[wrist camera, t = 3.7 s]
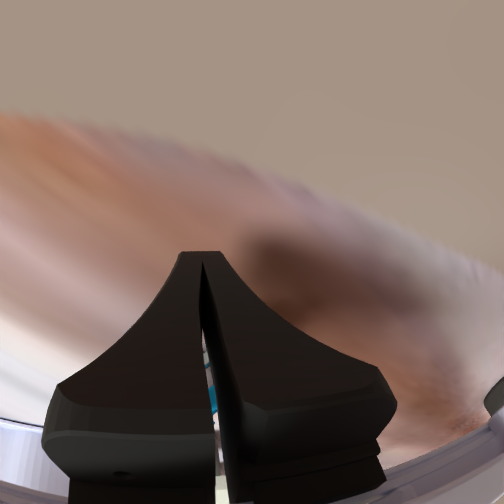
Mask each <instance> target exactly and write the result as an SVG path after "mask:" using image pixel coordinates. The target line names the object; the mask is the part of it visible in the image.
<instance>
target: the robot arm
mask: <svg viewBox="0 0 504 504" xmlns="http://www.w3.org/2000/svg"><path fill="white" fill-rule="evenodd" d="M202 328H203V333H204V338H205V344H206V349H207V354H208V358H209V363H210V368H211V373H212V378H213V382H214V388H215V394H216V403H217V411H218V420H219V428H220V436H221V444H222V452H223V460H224V468H225V475H226V483H227V490H228V498H229V504H367V503H368V504H493V503H495V502H496V501H497V500H498V499H499V498H500V497H501V496H503V495H504V406H502V407H501V408H500V409H499V410H498V411H497V412H496V413H495V414H494V415H493V416H492V417H491V418H490V419H489V420H488V422H487V423H486V424H484V425H482V426H480V427H479V428H477V429H475V430H473V431H471V432H470V433H468V434H466V435H464V436H462V437H460V438H458V439H456V440H454V441H452V442H450V443H448V444H446V445H444V446H442V447H440V448H438V449H435V450H433V451H431V452H429V453H426V454H424V455H422V456H420V457H417V458H415V459H412V460H410V461H407V462H405V463H402V464H400V465H397V466H394V467H392V468H389V469H386V470H383V469H382V467H381V465H380V462H379V460H378V458H377V455H378V454H379V453H380V447H379V445H378V442H377V440H376V438H377V437H378V436H379V435H380V433H381V432H382V431H383V430H384V428H385V427H386V426H387V424H388V423H389V422H390V421H391V419H392V417H393V415H394V414H395V412H396V409H397V400H396V399H395V397H394V395H393V393H392V391H391V389H390V387H389V385H388V383H387V381H386V380H385V378H384V376H383V375H382V373H381V372H380V370H379V369H378V367H376V366H374V365H371V364H368V363H366V362H363V361H361V360H358V359H355V358H353V357H350V356H348V355H345V354H343V353H341V352H339V351H337V350H335V349H333V348H331V347H329V346H327V345H325V344H323V343H321V342H319V341H317V340H315V339H314V338H312V337H310V336H308V335H307V334H305V333H304V332H302V331H301V330H299V329H297V328H296V327H294V326H293V325H291V324H290V323H288V322H287V321H286V320H284V319H283V318H282V317H280V316H279V315H278V314H277V313H275V312H274V311H273V310H272V309H270V308H269V307H268V306H267V305H266V304H265V303H264V302H263V301H262V300H261V299H260V298H259V297H258V296H257V295H256V294H255V293H254V292H253V291H252V290H251V289H250V288H249V287H248V286H247V285H246V284H245V282H244V281H243V280H242V279H241V278H240V277H239V275H238V274H237V273H236V272H235V270H234V269H233V268H232V267H231V265H230V264H229V262H228V261H227V260H226V258H225V257H224V255H223V254H222V253H221V252H220V251H188V252H181V253H180V254H179V255H178V258H177V261H176V263H175V265H174V267H173V269H172V271H171V273H170V275H169V277H168V278H167V280H166V282H165V284H164V285H163V287H162V288H161V290H160V291H159V293H158V294H157V296H156V297H155V299H154V300H153V301H152V303H151V304H150V306H149V307H148V308H147V309H146V311H145V312H144V313H143V314H142V316H141V317H140V318H139V319H138V320H137V321H136V323H135V324H134V325H133V326H132V327H131V328H130V329H129V330H128V331H127V332H126V333H125V334H124V335H123V336H122V337H121V338H120V339H119V340H118V341H117V342H116V343H115V344H114V345H112V346H111V347H110V348H109V349H108V350H106V351H105V352H104V353H103V354H102V355H100V356H99V357H98V358H97V359H95V360H94V361H93V362H91V363H90V364H89V365H87V366H86V367H84V368H83V369H81V370H80V371H78V372H76V373H75V374H73V375H72V376H70V377H69V378H67V379H66V380H64V381H62V382H61V383H59V384H57V386H56V389H55V391H54V394H53V396H52V399H51V401H50V404H49V407H48V410H47V414H46V418H45V423H44V428H41V427H35V426H30V425H25V424H20V423H15V422H11V421H6V420H2V419H0V504H216V495H215V486H216V457H215V431H214V423H213V415H212V407H211V402H210V396H209V390H208V384H207V377H206V370H205V363H204V355H203V347H202Z"/></svg>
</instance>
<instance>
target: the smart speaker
mask: <svg viewBox="0 0 504 504" xmlns="http://www.w3.org/2000/svg"><path fill="white" fill-rule="evenodd" d="M484 406H485V408H486V409H487V411H488V413H489V414H490V416H491V417H492V416H493V415H494V414H495V413H496V412H497V411H498V410H499V409H500V408H501V407H502V406H504V377H503V378H502V379H501V380H500V381H499V382H498V383H497V384H496V385H495V386H494V387H493V388H492V390H491V391H490V392H489V393H488V395H487V396H486V398H485V401H484Z"/></svg>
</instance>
